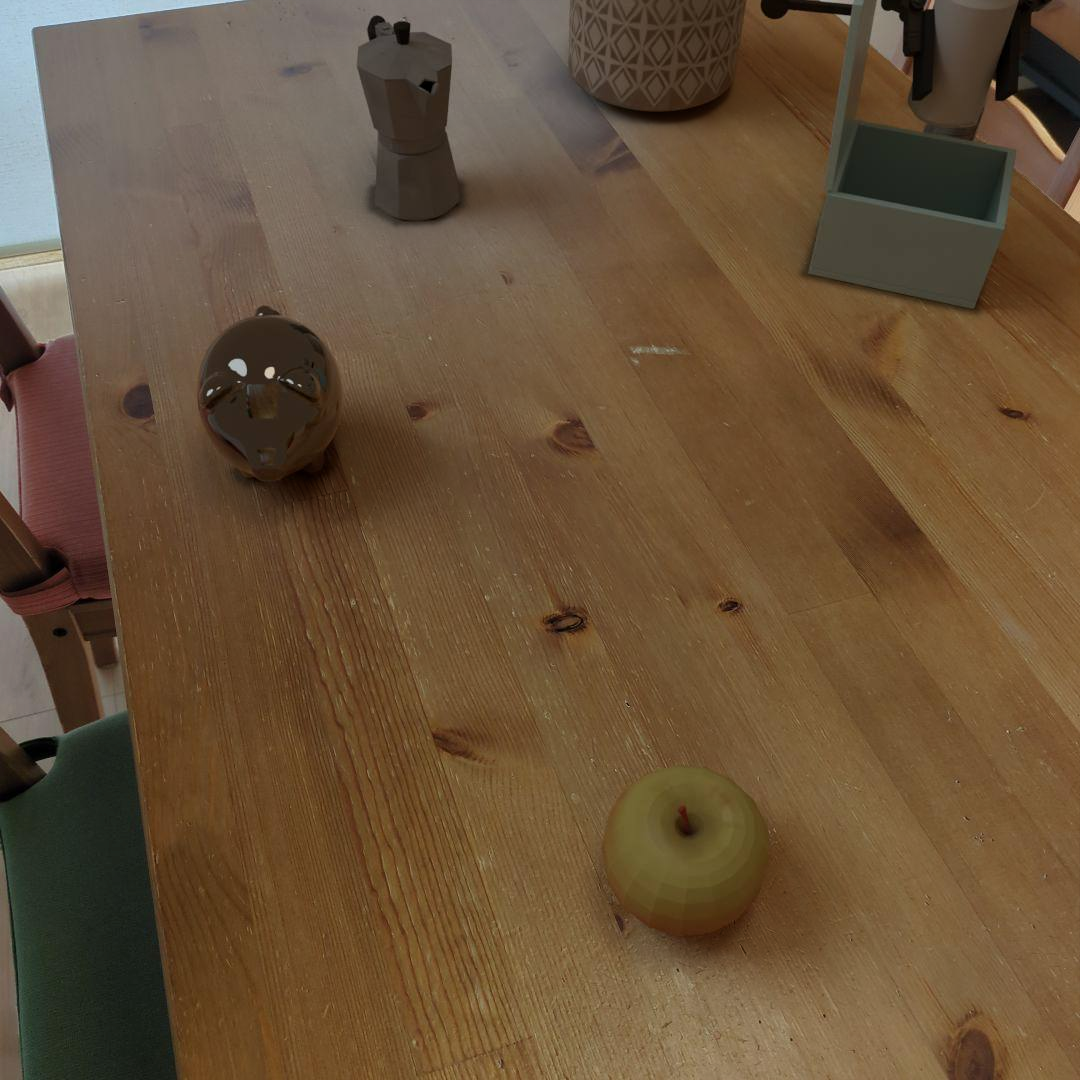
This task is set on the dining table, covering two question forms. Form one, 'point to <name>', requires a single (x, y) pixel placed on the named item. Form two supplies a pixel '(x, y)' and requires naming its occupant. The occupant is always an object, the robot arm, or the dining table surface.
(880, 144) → the open box
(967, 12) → the beverage can
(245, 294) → the dining table surface
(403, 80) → the coffeepot
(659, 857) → the apple
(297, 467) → the piggy bank
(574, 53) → the planter
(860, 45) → the lid
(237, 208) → the dining table surface
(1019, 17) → the robot arm
